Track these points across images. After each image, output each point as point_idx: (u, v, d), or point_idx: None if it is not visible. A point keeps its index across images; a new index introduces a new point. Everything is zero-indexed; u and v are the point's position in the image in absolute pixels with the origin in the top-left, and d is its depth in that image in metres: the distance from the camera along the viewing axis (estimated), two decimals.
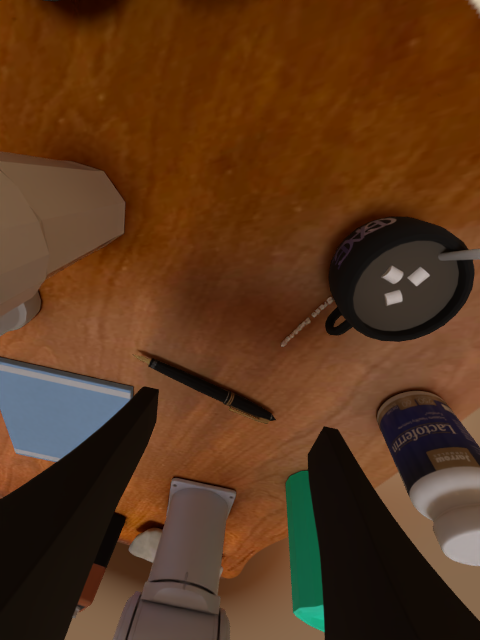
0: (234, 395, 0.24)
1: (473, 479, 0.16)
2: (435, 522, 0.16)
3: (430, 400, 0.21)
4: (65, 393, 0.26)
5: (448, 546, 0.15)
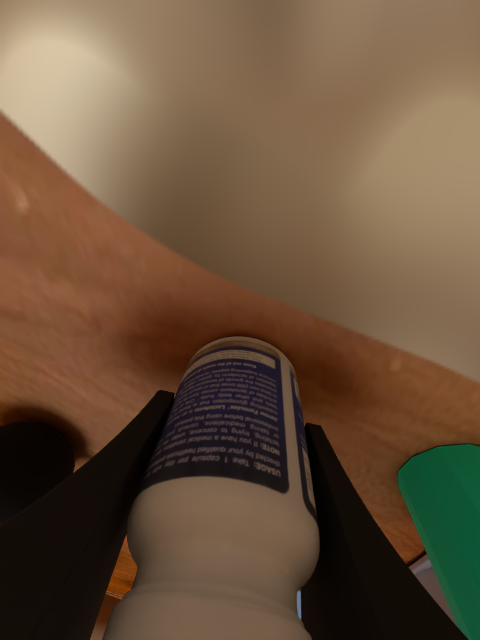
0: None
1: None
2: None
3: None
4: None
5: None
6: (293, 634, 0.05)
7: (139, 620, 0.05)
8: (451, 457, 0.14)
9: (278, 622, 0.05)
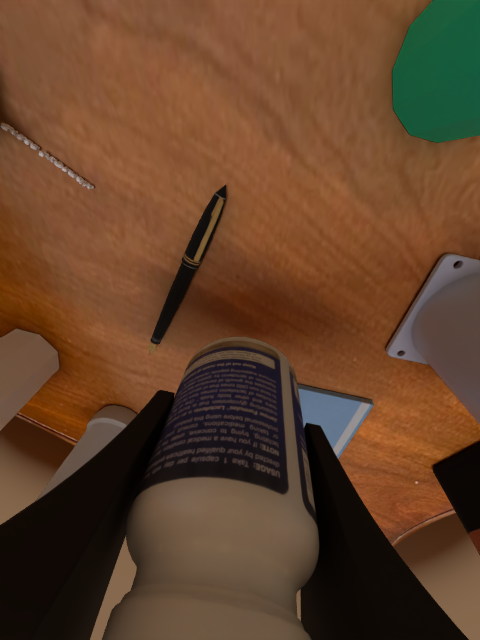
0: (185, 251, 0.17)
1: None
2: None
3: None
4: None
5: None
6: (292, 635, 0.05)
7: (138, 621, 0.05)
8: None
9: (278, 624, 0.05)
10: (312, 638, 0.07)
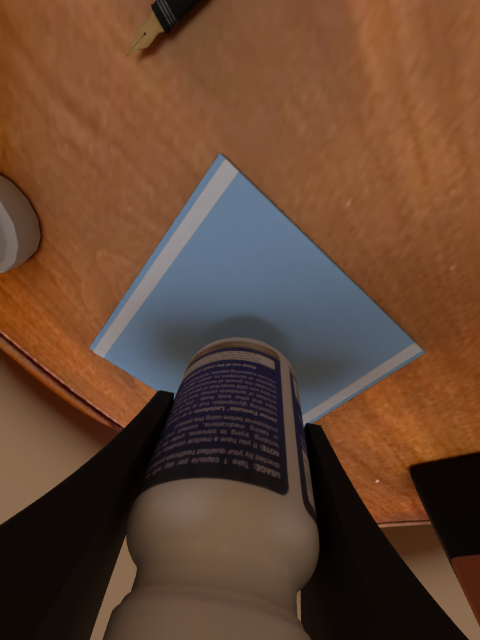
0: None
1: None
2: None
3: None
4: (181, 291, 0.14)
5: None
6: (293, 636, 0.05)
7: (139, 623, 0.05)
8: None
9: (278, 624, 0.05)
10: (312, 638, 0.07)
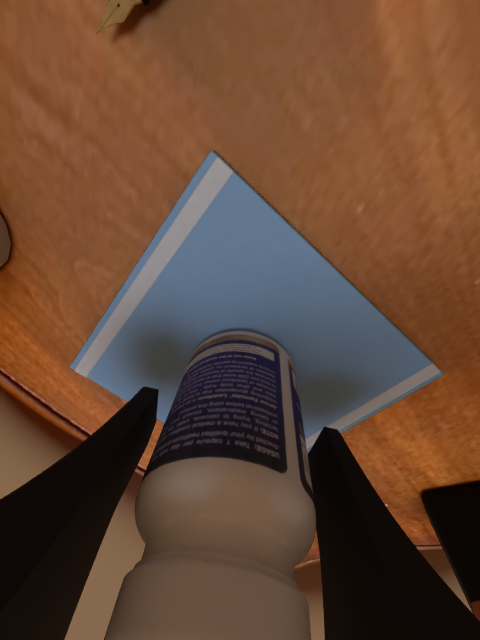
0: None
1: None
2: None
3: None
4: (170, 306, 0.13)
5: None
6: (291, 596, 0.06)
7: (150, 583, 0.06)
8: None
9: (277, 585, 0.06)
10: None
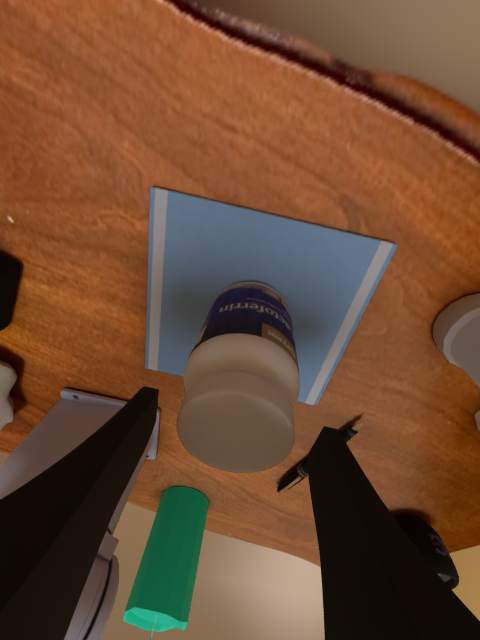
0: None
1: (288, 368, 0.11)
2: (207, 376, 0.10)
3: (289, 312, 0.17)
4: (316, 339, 0.19)
5: (200, 402, 0.10)
6: None
7: None
8: None
9: None
10: None
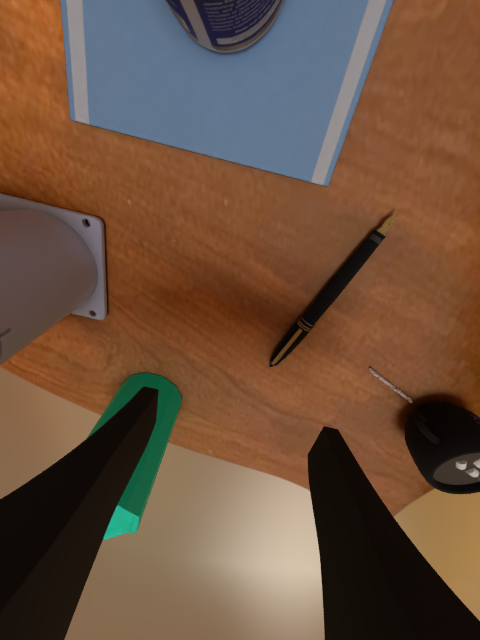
0: None
1: None
2: None
3: None
4: (333, 20, 0.12)
5: None
6: None
7: None
8: None
9: None
10: None
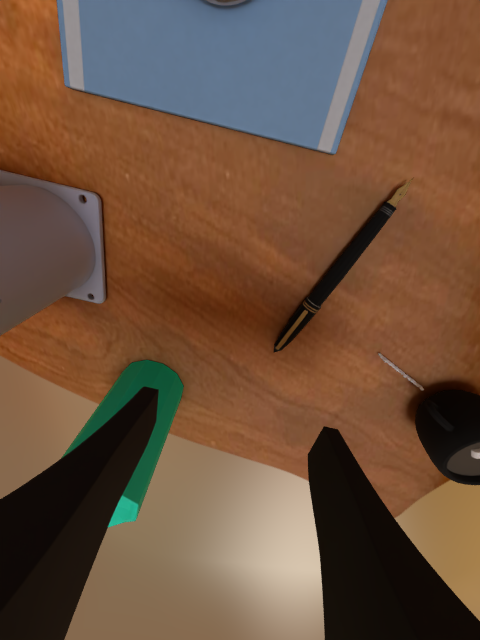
0: None
1: None
2: None
3: None
4: None
5: None
6: None
7: None
8: None
9: None
10: None
